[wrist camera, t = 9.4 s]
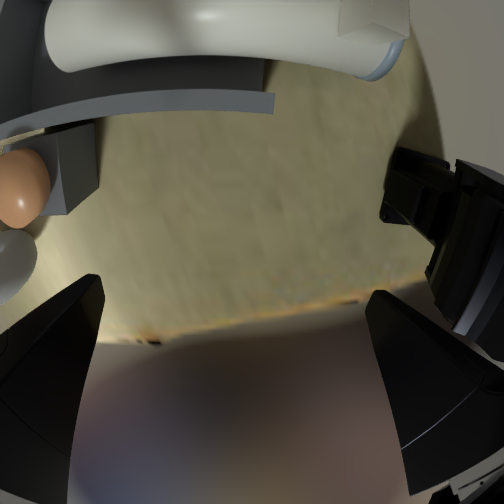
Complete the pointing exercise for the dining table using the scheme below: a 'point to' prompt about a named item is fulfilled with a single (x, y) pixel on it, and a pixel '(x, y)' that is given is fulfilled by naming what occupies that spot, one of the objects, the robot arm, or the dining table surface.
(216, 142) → the dining table surface
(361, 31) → the cartridge
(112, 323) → the dining table surface
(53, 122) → the housing
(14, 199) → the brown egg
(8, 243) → the donut
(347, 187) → the dining table surface
